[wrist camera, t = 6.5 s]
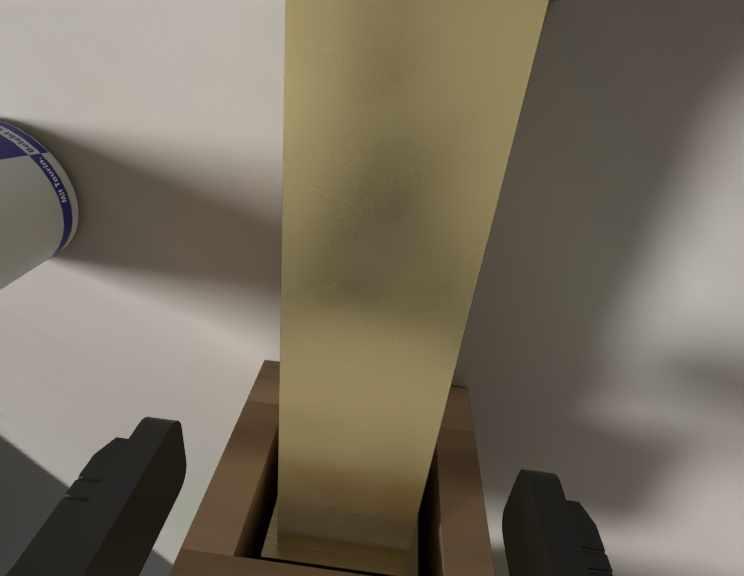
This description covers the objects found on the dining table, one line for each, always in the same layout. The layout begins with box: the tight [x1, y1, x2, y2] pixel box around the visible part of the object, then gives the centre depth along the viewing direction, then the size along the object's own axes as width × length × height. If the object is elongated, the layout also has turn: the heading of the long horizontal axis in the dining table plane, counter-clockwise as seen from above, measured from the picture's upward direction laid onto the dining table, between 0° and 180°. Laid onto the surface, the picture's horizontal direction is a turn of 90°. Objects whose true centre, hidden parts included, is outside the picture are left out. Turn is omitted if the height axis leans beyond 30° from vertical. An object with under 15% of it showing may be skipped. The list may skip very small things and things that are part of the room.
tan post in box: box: [261, 0, 549, 576], centre depth 12 cm, size 22×5×5 cm, turn 174°
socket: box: [169, 360, 495, 576], centre depth 18 cm, size 6×9×10 cm, turn 84°
